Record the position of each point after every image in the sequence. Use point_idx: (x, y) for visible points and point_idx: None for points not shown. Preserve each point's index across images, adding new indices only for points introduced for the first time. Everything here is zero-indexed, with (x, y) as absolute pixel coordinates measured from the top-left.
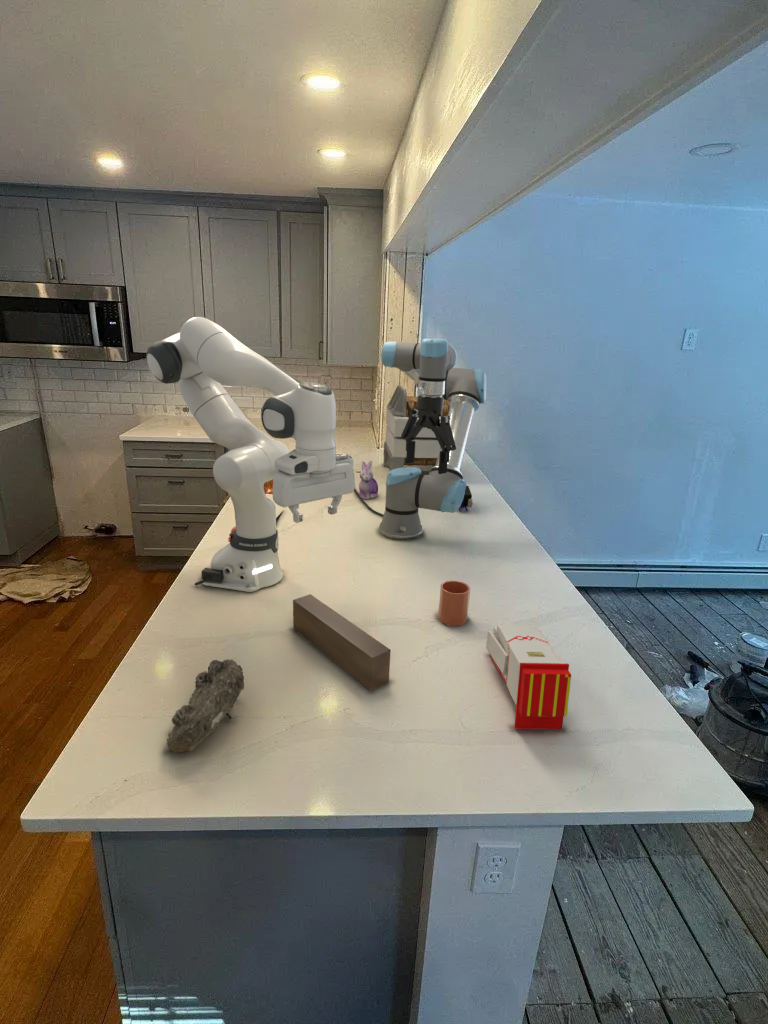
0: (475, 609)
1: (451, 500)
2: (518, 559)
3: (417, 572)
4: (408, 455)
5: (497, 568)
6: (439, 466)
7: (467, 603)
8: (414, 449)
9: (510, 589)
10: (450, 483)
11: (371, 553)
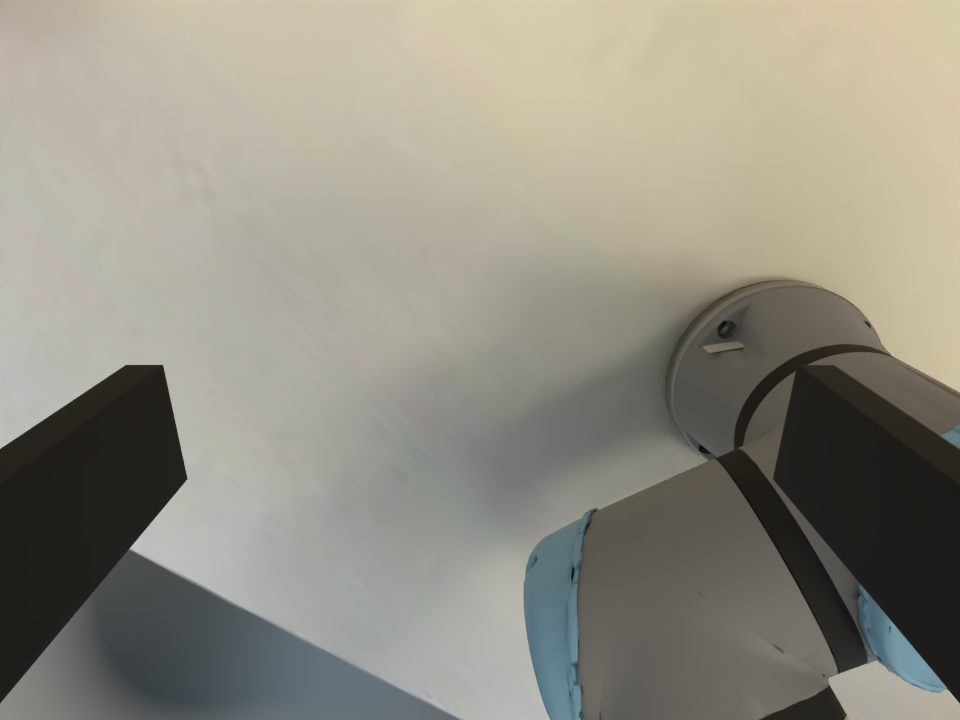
0: (8, 84)
1: (536, 567)
2: (281, 544)
3: (404, 132)
4: (871, 429)
5: (261, 431)
6: (78, 411)
7: None
8: (896, 612)
9: (96, 336)
10: (599, 669)
11: (693, 91)
